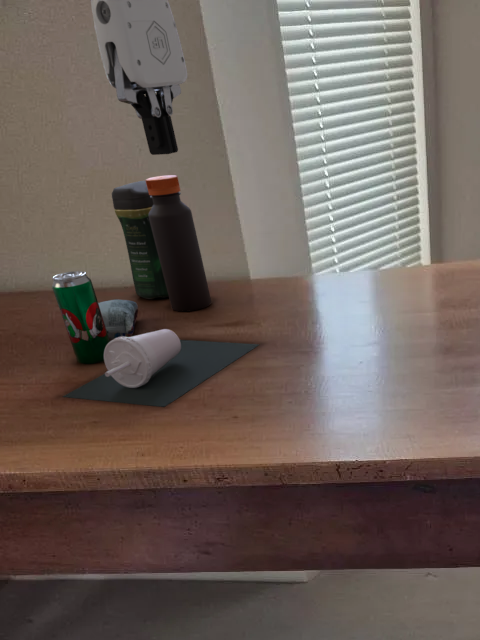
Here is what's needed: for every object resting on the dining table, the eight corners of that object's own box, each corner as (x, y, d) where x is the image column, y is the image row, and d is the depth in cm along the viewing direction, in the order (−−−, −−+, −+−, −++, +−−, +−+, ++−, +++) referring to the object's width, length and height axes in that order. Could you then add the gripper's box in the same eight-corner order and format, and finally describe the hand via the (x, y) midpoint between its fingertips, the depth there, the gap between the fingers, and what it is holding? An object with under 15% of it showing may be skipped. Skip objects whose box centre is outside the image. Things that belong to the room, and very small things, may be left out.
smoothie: (196, 363, 99) (134, 398, 88) (157, 368, 102) (92, 402, 90) (180, 315, 96) (114, 345, 85) (141, 321, 99) (71, 351, 87)
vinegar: (216, 306, 124) (187, 176, 112) (176, 314, 121) (143, 182, 110) (206, 298, 129) (178, 172, 118) (168, 305, 126) (135, 178, 115)
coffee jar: (164, 301, 129) (134, 186, 119) (130, 299, 132) (98, 187, 122) (198, 286, 136) (173, 176, 126) (165, 284, 139) (138, 177, 129)
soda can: (113, 352, 107) (87, 268, 101) (116, 362, 103) (89, 275, 97) (77, 359, 106) (49, 274, 99) (79, 370, 102) (49, 282, 95)
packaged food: (78, 351, 109) (67, 318, 106) (88, 328, 119) (79, 297, 116) (138, 343, 110) (129, 310, 108) (143, 321, 120) (135, 291, 117)
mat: (63, 400, 93) (62, 396, 92) (169, 342, 109) (168, 338, 109) (165, 410, 87) (164, 406, 87) (260, 347, 104) (259, 344, 104)
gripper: (102, -39, 75) (151, 161, 85) (188, -31, 86) (222, 144, 96) (47, -29, 77) (100, 163, 88) (137, -24, 89) (176, 146, 99)
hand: (164, 153), depth 92 cm, fingers closed
